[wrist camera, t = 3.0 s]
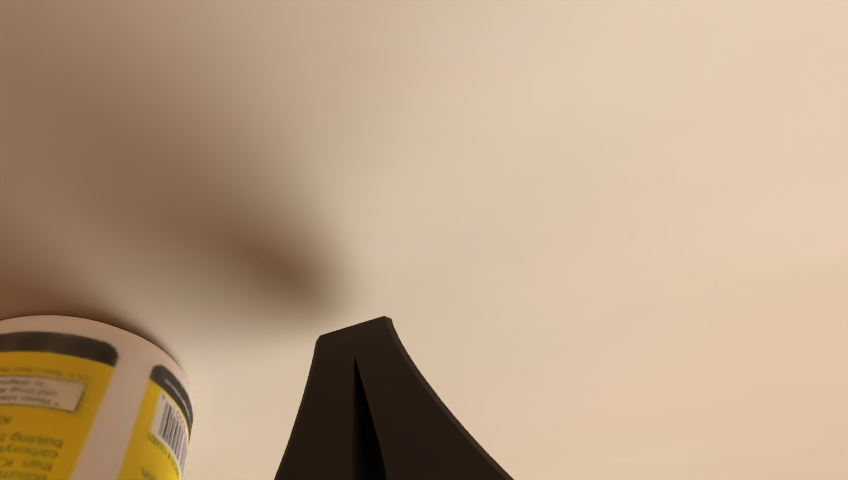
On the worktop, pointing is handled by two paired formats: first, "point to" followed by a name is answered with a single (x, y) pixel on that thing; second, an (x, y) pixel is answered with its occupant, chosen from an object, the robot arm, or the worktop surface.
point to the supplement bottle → (89, 403)
